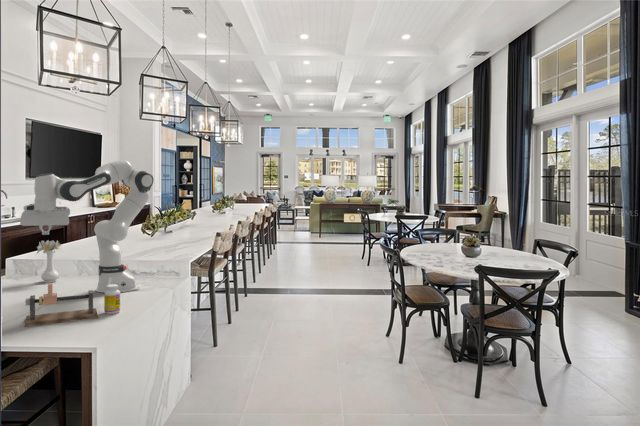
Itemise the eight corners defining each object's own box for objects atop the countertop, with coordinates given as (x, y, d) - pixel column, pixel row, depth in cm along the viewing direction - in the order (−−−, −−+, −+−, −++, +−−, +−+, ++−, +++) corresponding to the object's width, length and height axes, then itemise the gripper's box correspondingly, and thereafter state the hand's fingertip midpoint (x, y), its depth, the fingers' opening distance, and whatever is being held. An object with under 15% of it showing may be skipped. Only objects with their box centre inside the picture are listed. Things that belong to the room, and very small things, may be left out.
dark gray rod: (90, 298, 195) (90, 291, 195) (90, 300, 192) (90, 293, 192) (26, 305, 182) (26, 296, 182) (25, 307, 179) (25, 299, 179)
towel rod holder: (96, 311, 200) (96, 288, 199) (97, 318, 191) (97, 293, 190) (26, 319, 186) (26, 294, 185) (24, 326, 177) (24, 300, 176)
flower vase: (59, 277, 265) (58, 237, 263) (64, 283, 251) (64, 241, 249) (34, 279, 257) (33, 238, 255) (38, 286, 243) (38, 242, 241)
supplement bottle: (116, 314, 196) (116, 287, 196) (101, 314, 196) (101, 287, 195) (122, 310, 203) (122, 283, 202) (108, 310, 203) (108, 283, 202)
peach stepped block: (57, 301, 189) (56, 282, 188) (56, 303, 185) (56, 284, 184) (43, 302, 186) (43, 283, 185) (43, 305, 182) (43, 285, 182)
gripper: (69, 206, 216) (70, 233, 217) (20, 206, 206) (21, 234, 206) (70, 207, 211) (70, 234, 212) (19, 206, 200) (20, 236, 201)
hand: (45, 234), depth 209 cm, fingers closed
